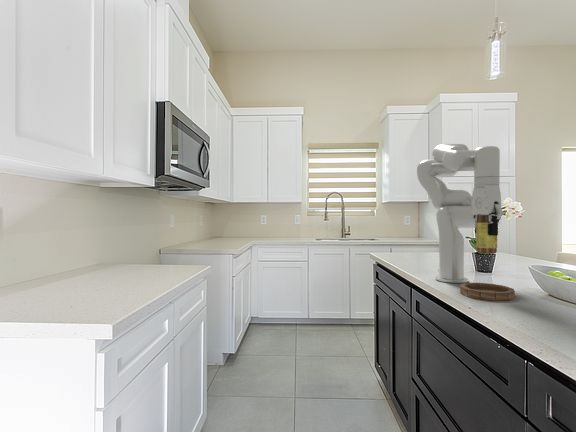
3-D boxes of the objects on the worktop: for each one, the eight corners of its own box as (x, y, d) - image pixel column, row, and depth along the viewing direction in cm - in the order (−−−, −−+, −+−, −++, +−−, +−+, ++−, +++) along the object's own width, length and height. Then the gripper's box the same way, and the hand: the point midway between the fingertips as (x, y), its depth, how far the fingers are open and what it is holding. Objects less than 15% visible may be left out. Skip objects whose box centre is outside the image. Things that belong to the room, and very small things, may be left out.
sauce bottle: (500, 254, 110) (501, 195, 109) (480, 253, 111) (480, 195, 110) (492, 251, 116) (493, 195, 116) (473, 251, 117) (473, 196, 117)
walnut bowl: (451, 289, 121) (451, 282, 121) (493, 289, 122) (493, 282, 122) (477, 301, 105) (477, 293, 105) (526, 300, 106) (526, 292, 106)
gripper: (462, 184, 122) (461, 232, 122) (492, 180, 105) (492, 236, 105) (481, 184, 122) (481, 232, 122) (515, 180, 105) (514, 236, 105)
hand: (486, 234), depth 114 cm, fingers closed on sauce bottle, 6 cm apart
